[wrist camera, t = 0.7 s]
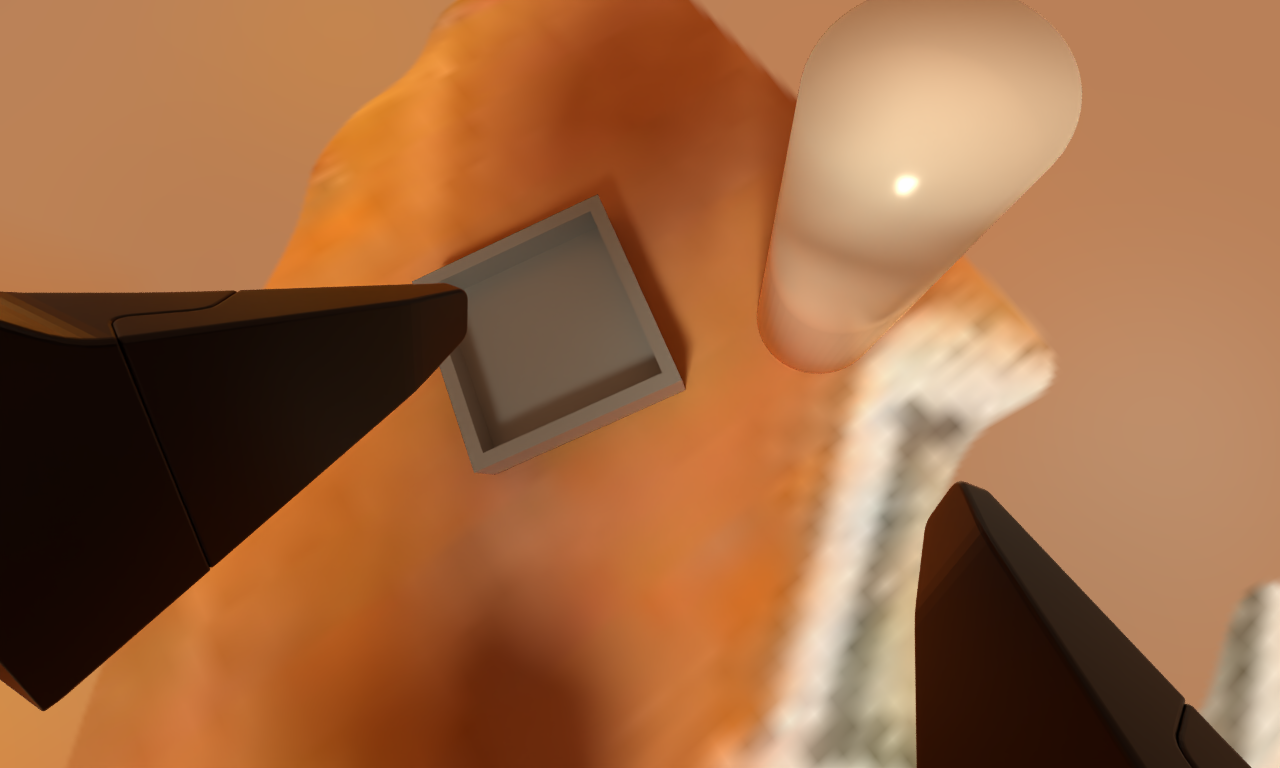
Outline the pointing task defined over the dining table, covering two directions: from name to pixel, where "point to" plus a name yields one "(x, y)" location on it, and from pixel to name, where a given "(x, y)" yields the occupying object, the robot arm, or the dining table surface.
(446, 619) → the dining table surface
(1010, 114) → the beige tapered rounded piece
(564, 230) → the tray
